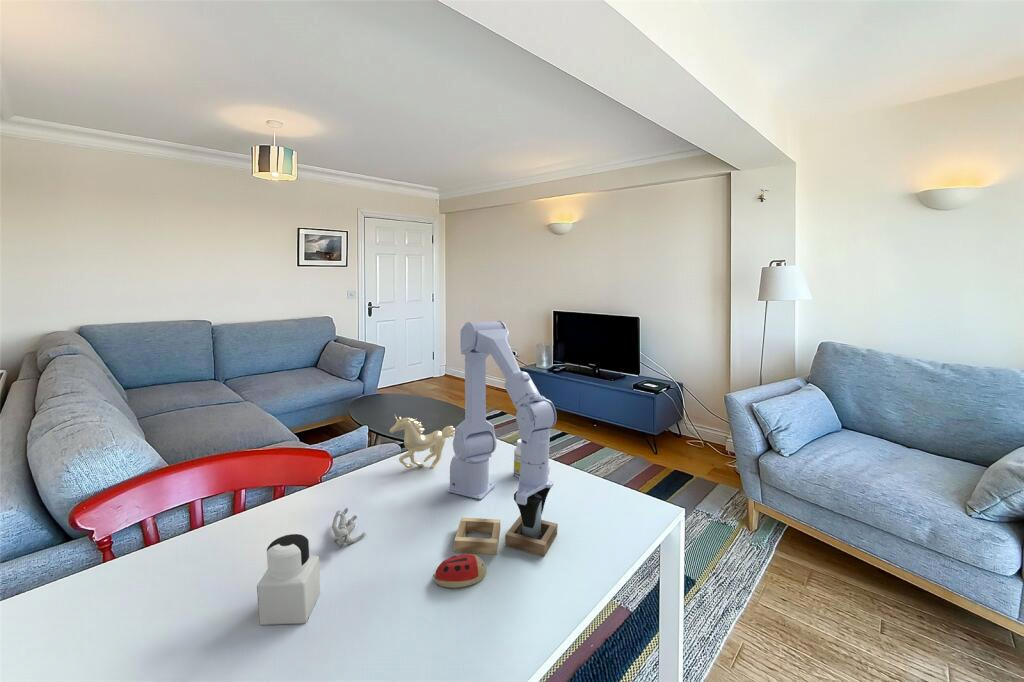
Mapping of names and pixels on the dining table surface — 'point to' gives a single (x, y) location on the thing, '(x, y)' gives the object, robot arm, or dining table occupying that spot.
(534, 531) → the thick gray cylindrical peg
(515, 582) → the dining table surface
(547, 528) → the wooden square ring
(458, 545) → the light wooden square frame
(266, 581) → the white blocky bust figurine
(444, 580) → the ladybug figurine
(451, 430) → the unicorn
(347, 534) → the grey branched piece
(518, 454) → the supplement bottle
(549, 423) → the robot arm
